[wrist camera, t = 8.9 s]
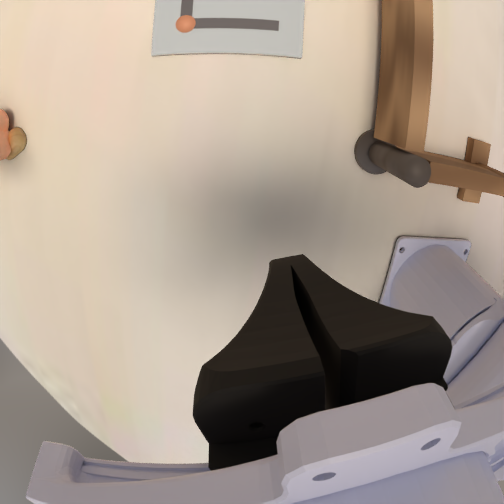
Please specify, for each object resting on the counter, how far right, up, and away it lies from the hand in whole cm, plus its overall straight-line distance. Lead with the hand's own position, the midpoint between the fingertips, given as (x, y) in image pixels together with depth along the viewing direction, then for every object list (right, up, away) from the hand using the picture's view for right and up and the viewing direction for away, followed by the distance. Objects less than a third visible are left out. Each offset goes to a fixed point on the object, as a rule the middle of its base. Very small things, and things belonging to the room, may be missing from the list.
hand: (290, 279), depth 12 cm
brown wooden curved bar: (+7, +13, +4) cm, 15 cm away
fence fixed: (+11, +8, +7) cm, 15 cm away
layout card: (-3, +17, +2) cm, 17 cm away
